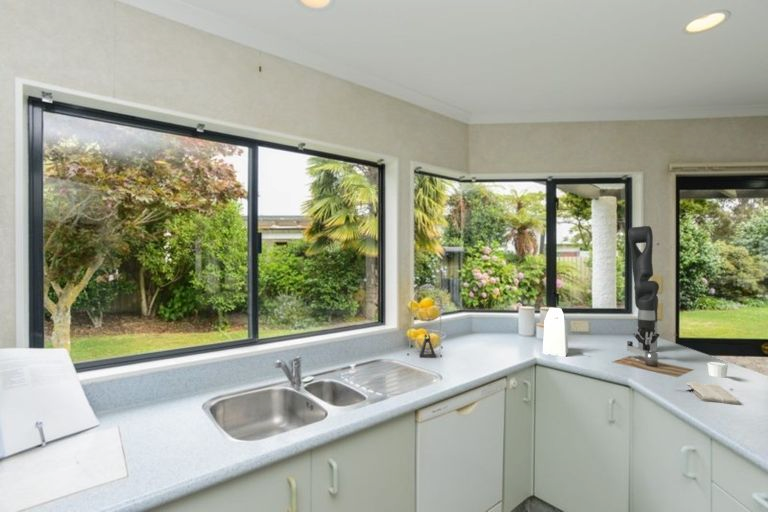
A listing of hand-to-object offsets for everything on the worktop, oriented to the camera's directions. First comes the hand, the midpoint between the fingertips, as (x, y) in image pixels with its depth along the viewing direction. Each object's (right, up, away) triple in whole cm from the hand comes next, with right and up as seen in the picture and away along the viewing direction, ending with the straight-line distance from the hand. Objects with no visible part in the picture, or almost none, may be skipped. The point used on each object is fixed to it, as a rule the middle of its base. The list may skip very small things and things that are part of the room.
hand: (646, 351), depth 194 cm
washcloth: (-6, -7, -45) cm, 46 cm away
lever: (-6, -4, -4) cm, 8 cm away
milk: (-39, -6, +18) cm, 44 cm away
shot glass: (+14, -6, -26) cm, 30 cm away
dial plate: (-5, -6, -11) cm, 14 cm away
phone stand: (-114, -6, +12) cm, 115 cm away
